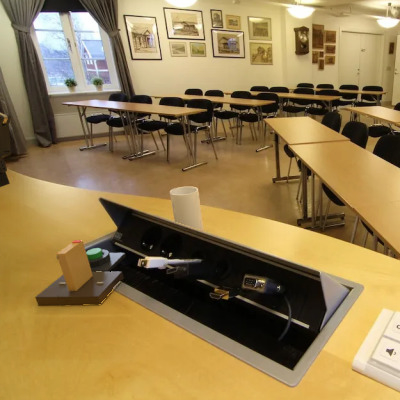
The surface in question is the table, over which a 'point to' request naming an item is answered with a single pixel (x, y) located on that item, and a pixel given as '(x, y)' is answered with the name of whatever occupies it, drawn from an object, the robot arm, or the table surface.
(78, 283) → the tan upright slab
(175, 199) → the cup
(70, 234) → the table surface
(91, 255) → the release button
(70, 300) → the lock plate
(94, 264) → the block
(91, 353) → the table surface
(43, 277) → the table surface
